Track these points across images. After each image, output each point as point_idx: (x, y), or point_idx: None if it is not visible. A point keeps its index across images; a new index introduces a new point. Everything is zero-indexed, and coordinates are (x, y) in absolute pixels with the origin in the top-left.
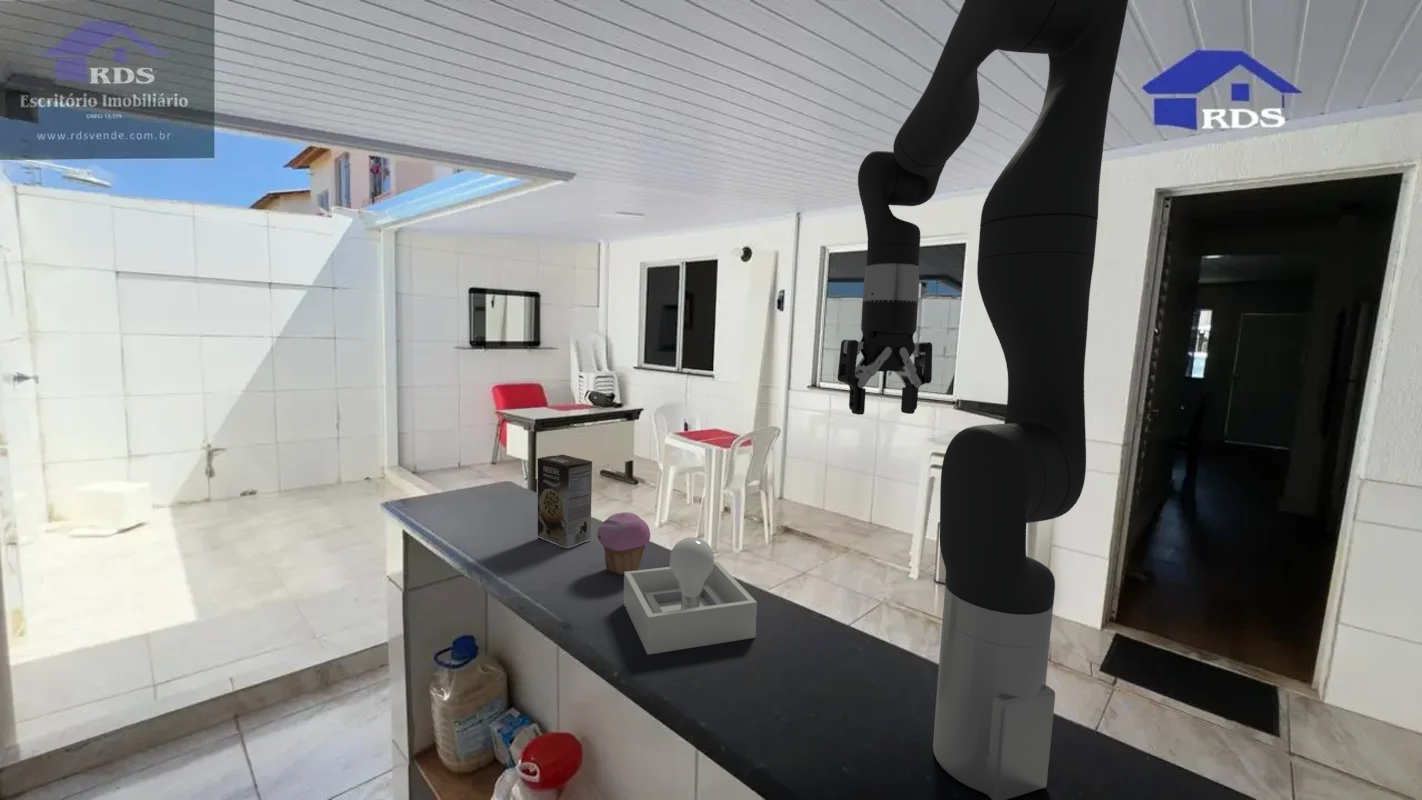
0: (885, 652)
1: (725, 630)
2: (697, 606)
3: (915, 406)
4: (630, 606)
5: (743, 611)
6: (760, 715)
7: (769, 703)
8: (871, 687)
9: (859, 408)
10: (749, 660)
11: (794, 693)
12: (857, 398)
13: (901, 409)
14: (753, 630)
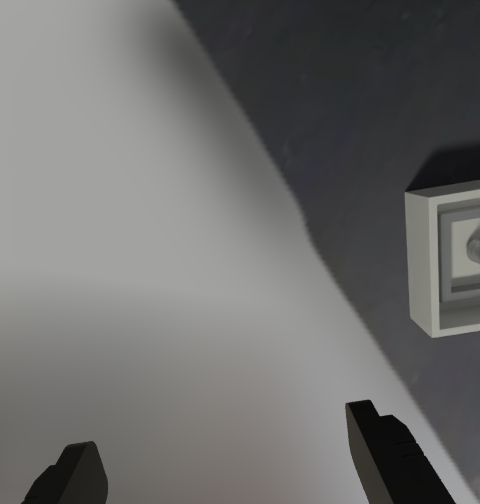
0: (257, 135)
1: (454, 186)
2: (476, 243)
3: (45, 477)
4: None
5: (442, 193)
6: (462, 23)
7: (443, 45)
8: (312, 59)
9: (378, 418)
10: (431, 140)
11: (407, 61)
12: (412, 462)
13: (105, 497)
14: (412, 192)
